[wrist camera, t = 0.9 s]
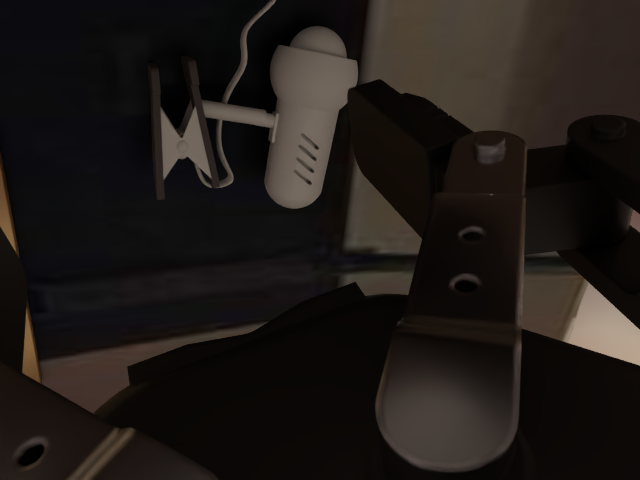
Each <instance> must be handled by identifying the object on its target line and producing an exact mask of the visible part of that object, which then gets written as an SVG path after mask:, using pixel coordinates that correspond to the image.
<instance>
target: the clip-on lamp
mask: <svg viewBox="0 0 640 480" xmlns="http://www.w3.org/2000/svg"><path fill="white" fill-rule="evenodd" d="M275 2H276V0H270V1H269V2H268V3H267V4H266V5H265V6H264V7H263V8H262V9H261V10H260V11H259V12H258V13H257V14H256V15H255V16H254V17H253V18H252V19H251V20H250V21H249V22H248V23H247V24H246V26H245V27H244V29H243V30H242V33H241V36H240V46H241V63H240V65H239V68H238V70H237V71H236V73H235V75H234V76H233V78H232V80H231V81H230V83H229V85H228V87H227V89H226V91H225V93H224V95H223V98H222V101H221V103H219V102H213V101H207V100H201V96H200V91H199V87H198V85H199V77H198V71H197V66H196V61H195V59H193V58H191V57H189V56H188V55H186V56H181V63H182V68H183V74H184V78H185V80H186V84H187V88H188V92H189V97H190V102H189V105H188V107H187V110H186V112H185V115H184V118H183V120H182V123H181V125H180V128H177V129H175V127H174V126H173V124H172V123H171V121H170V120H169V118H168V117H167V115H166V114H165V112H164V111H163V109H162V108H161V105H160V94H161V91H160V79H159V70H158V67H157V66H156V64H155V63H147V67H148V78H149V86H150V101H151V127H152V154H153V169H154V181H155V190H156V196H157V200H160V199H165V196H164V179H165V177H166V176H167V174H168V173H169V171H170V170H171V168H172V167H173V165H174V164H175V163H176V161H177V160H178V158H179V159H184V158H186V157H187V156H188V157H189V158H190V159H191V160H192V161H193V162H194V163H195V168H196V171H197V174H198V176H199V178H200V180H201V181H202V182H203V183H204V184H205V185H206V186H208V187H211V188H221V187H225V186H227V185H230V184H231V183H232V182H233V179H234V178H233V174H232V171H231V169H230V167H229V165H228V163H227V161H226V158H225V156H224V153H223V149H222V142H221V127H222V120H227V121H234V122H240V123H247V124H252V125H257V126H263V127H270V131H269V137H268V140H269V141H270V147H269V154H268V160H267V166H266V173H265V179H264V183H265V187H266V190H267V192H268V194H269V195H270V197H271V198H272V199H273V200H274V201H275V202H277V203H278V204H280V205H281V206H284V207H287V208H302V207H305V206H307V205H309V204H311V203H312V202H314V201H315V200H316V199H317V198H318V196H319V195H320V193H321V191H322V186H323V181H324V177H325V172H326V168H327V163H328V158H329V154H330V149H331V144H332V140H333V135H334V130H335V126H336V121H337V117H338V112H339V110H340V109H341V108H342V107H343V106H344V105H345V104H346V103H347V102H348V101H347V93H348V90H349V88H352V87H355V86H356V84H357V78H358V66H357V61H355V60H350V59H347V57H346V49H345V46H344V43H343V42H342V40H341V38H340V37H339V36H338V35H337V34H336V33H335V32H334V31H332V30H330V29H328V28H326V27H321V26H313V27H308V28H306V29H304V30H302V31H301V32H299V33H298V34H297V35H296V36H295V37H294V39H293V40H292V42H291V44H290V46H289V47H288V46H283V45H278V47H277V48H276V50H275V52H274V54H273V57H272V60H271V64H270V80H271V84H272V87H273V90H274V93H275V94H276V96H277V103H276V109H275V111H273V112H272V114H268V113H266V110H262V109H256V108H249V107H243V106H237V105H231V104H227V102H228V99H229V96H230V95H231V93H232V91H233V89H234V87H235V85H236V84H237V82H238V81H239V79H240V77H241V75H242V74H243V72H244V70H245V67H246V65H247V57H248V56H247V45H246V36H247V33H248V30H249V29H250V27H251V26H252V24H253V23H254V22H255V21H256V20H257V19H258V18H259V17H261V16H262V15H263V14H264V13H265V12H266V11H267V10H268V9H269V8H270V7H271V6H272V5H273V4H274V3H275ZM205 117H207V118H214V119H217V124H216V146H217V151H218V155H219V157H220V160H221V162H222V164H223V166H224V167H225V169H226V171H227V173H228V176H227V178H225V179H224V180H221V181H219V178H218V173H217V169H216V164H215V160H214V155H213V150H212V146H211V141H210V137H209V132H208V128H207V123H206V118H205ZM200 168H201V169H202V170H203V171H204V172H205V173H206V174H207V177H208V180H209V182H208V181H206V180H205V179H204V177H203V175H202V173H201V170H200Z"/></svg>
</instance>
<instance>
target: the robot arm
mask: <svg viewBox="0 0 640 480" xmlns="http://www.w3.org/2000/svg"><path fill="white" fill-rule="evenodd" d="M347 101H348V109H349V117H350V125H351V132H352V140H353V148H354V154H355V158H356V161H357V164H358V166H359V168H360V170H361V172H362V173H363V175H364V176H365V177H366V178H367V179H368V180H369V181H370V182H371V184H372V185H373V186H374V187H375V188H376V189H377V190H378V191H379V192H380V193H381V194H382V196H383V197H384V198H385V199H386V200H387V201H388V202H389V203H390V204H391V205H392V206H393V208H394V209H395V210H396V211H397V212H398V213H399V214H400V215H401V216H402V217H403V218H404V219H405V221H406V222H407V223H408V224H409V225H410V226H411V227H412V228H413V229H414V230H415V231H416V233H417V234H418V235H419V236H420V237H421V238H422V242H421V246H420V250H419V254H418V258H417V262H416V266H415V270H414V274H413V278H412V282H411V287H410V291H409V295H401V294H380V295H370V296H365V295H364V294H363V292H362V291H361V289H360V288H359V286H358V285H357V283H356V282H354V283H351V284H348V285H346V286H343V287H340V288H338V289H335V290H332V291H330V292H327V293H324V294H322V295H319V296H316V297H313V298H311V299H308V300H305V301H303V302H301V303H299V304H298V305H296V306H294V307H293V308H291V309H289V310H288V311H286V312H285V313H283V314H281V315H280V316H278V317H276V318H275V319H273V320H271V321H270V322H268V323H266V324H265V325H263V326H261V327H260V328H258V329H256V330H255V331H253V332H250V333H248V334H243V335H238V336H232V337H227V338H221V339H215V340H210V341H204V342H199V343H193V344H187V345H184V346H182V347H179V348H176V349H174V350H171V351H168V352H166V353H163V354H160V355H158V356H155V357H152V358H150V359H147V360H144V361H141V362H139V363H136V364H133V365H131V366H128V375H129V382H130V385H129V386H128V387H126V388H125V389H123V390H121V391H120V392H119V393H117V394H116V395H114V396H113V397H112V398H110V399H109V400H108V401H107V402H105V403H104V404H103V405H102V406H101V407H100V408H99V409H97V410H96V411H95V412H94V413H91V412H89V411H87V410H86V409H84V408H82V407H80V406H79V405H77V404H75V403H74V402H72V401H70V400H68V399H67V398H65V397H63V396H61V395H60V394H58V393H56V392H55V391H53V390H51V389H49V388H48V387H46V386H44V385H42V384H41V383H39V382H37V381H36V380H34V379H32V378H30V377H29V376H27V375H25V374H24V373H22V370H23V354H24V339H25V324H26V309H27V294H28V281H27V276H26V273H25V270H24V267H23V265H22V262H21V260H20V258H19V257H18V255H17V253H16V252H15V250H14V248H13V247H12V245H11V243H10V242H9V240H8V238H7V237H6V235H5V233H4V232H3V230H2V228H1V227H0V480H640V366H639V365H636V364H632V363H629V362H626V361H623V360H620V359H617V358H614V357H610V356H607V355H604V354H601V353H598V352H594V351H591V350H588V349H585V348H582V347H578V346H575V345H572V344H569V343H566V342H563V341H559V340H556V339H553V338H550V337H547V336H544V335H540V334H537V333H534V332H531V331H528V330H525V329H521V324H522V298H523V273H524V255H528V254H536V253H544V252H553V251H557V253H558V254H559V255H560V256H561V257H562V258H563V259H564V260H565V261H566V262H567V263H568V264H570V265H571V266H572V267H573V268H574V269H575V270H576V271H577V272H578V273H579V274H580V275H581V276H583V277H584V278H585V279H586V280H587V281H588V282H589V283H590V284H591V285H592V286H593V287H594V288H595V289H597V290H598V291H599V292H600V293H601V294H602V295H603V296H604V297H605V298H606V299H607V300H609V301H610V302H611V303H612V304H613V305H614V306H615V307H616V308H617V309H618V310H619V311H620V312H621V313H622V314H624V315H625V316H626V317H627V318H628V319H629V320H630V321H631V322H632V323H633V324H634V325H635V326H637V327H638V328H639V329H640V232H638V231H637V230H636V229H634V228H633V227H632V226H630V221H631V216H632V211H633V209H634V210H635V211H637V212H638V213H639V214H640V122H638V121H636V120H633V119H630V118H627V117H623V116H616V115H594V116H588V117H584V118H581V119H578V120H576V121H574V122H573V123H572V124H571V125H570V126H569V127H568V131H567V139H566V145H559V146H552V147H545V148H537V149H527V144H526V143H525V141H524V140H523V139H522V138H520V137H519V136H517V135H514V134H511V133H508V132H504V131H492V130H491V131H479V132H473V131H472V130H470V129H469V128H467V127H466V126H464V125H463V124H462V123H460V122H459V121H457V120H456V119H454V118H453V117H452V116H448V114H447V113H446V112H444V111H443V110H442V109H440V108H439V109H438V107H437V106H436V105H434V104H433V103H432V102H430V101H429V100H427V99H426V98H423V97H420V96H416V95H412V94H409V93H404V94H400V93H399V92H397V91H396V90H395V89H393V88H392V87H390V86H389V85H388V84H386V83H385V82H384V81H382V80H380V79H378V80H375V81H372V82H368V83H365V84H362V85H358V86H355V87H352V88H349V90H348V93H347Z"/></svg>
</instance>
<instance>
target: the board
mask: <svg viewBox="0 0 640 480" xmlns="http://www.w3.org/2000/svg"><path fill="white" fill-rule="evenodd" d="M0 227H1V228H2V230H3V232H4V233H5V235H6V237H7V238H8V240H9V242H10V243H11V245H12V247H13V248H14V250H15V252H16V253H17V255H18V257H19V258H20V256H19V250H18V245H17V239H16V234H15V228H14V223H13V217H12V212H11V206H10V201H9V195H8V190H7V184H6V179H5V173H4V168H3V162H2V157H1V151H0ZM22 373H24V374H25V375H27V376H29V377H30V378H32V379H34V380H36V381H37V382H39V383H41V384H42V376H41V371H40V365H39V360H38V354H37V349H36V343H35V338H34V332H33V327H32V321H31V316H30V310H29V305H28V299H27V309H26V324H25V339H24V354H23V370H22Z"/></svg>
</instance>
